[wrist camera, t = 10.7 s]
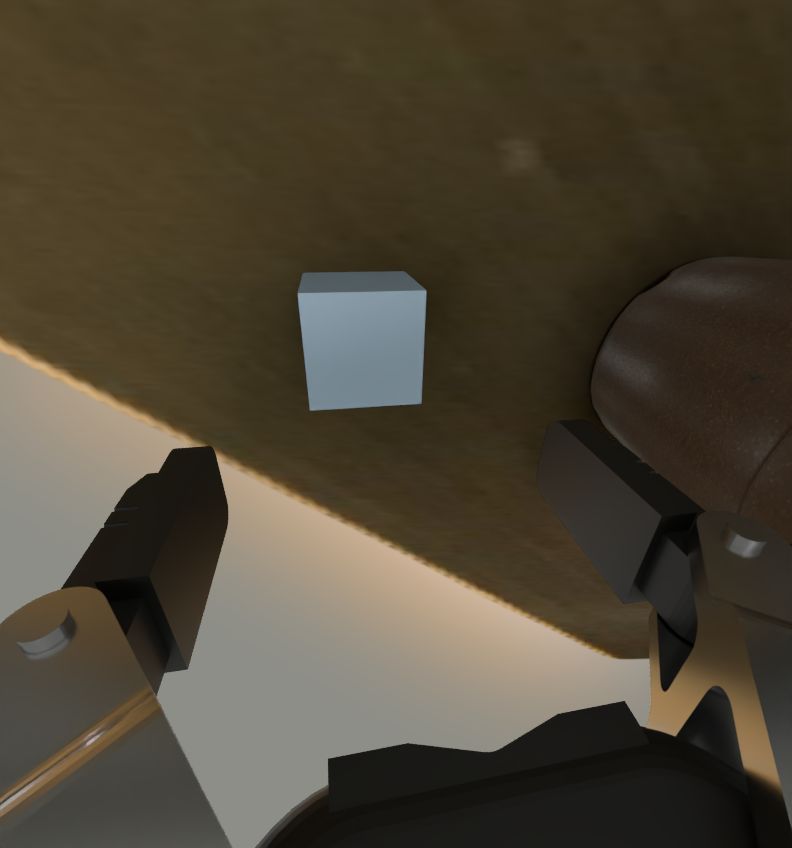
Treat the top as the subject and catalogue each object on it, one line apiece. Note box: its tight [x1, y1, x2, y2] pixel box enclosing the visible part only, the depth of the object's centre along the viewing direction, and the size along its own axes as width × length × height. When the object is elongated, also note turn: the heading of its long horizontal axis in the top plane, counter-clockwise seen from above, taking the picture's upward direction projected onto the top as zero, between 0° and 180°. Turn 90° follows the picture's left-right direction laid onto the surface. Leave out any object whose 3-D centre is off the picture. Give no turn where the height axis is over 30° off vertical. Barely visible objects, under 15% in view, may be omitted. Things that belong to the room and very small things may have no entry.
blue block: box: [298, 271, 426, 411], centre depth 19 cm, size 5×5×5 cm
